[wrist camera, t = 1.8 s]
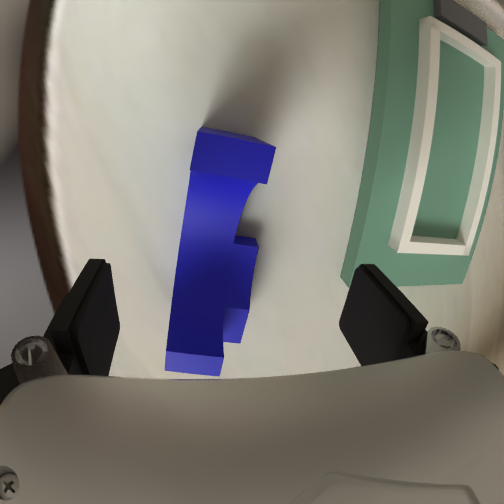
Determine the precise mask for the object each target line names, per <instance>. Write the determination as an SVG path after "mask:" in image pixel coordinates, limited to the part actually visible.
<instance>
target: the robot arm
mask: <svg viewBox="0 0 504 504" xmlns="http://www.w3.org/2000/svg"><path fill="white" fill-rule="evenodd" d="M427 324H428V321H427V320H426V319H425V317H424V316H423V315H422V314H421V313H420V312H419V311H418V310H417V309H416V307H415V306H414V305H413V304H412V303H411V302H410V301H409V300H408V299H407V298H406V297H405V295H404V294H403V293H402V292H401V291H400V290H399V289H398V288H397V287H396V286H395V285H394V284H393V283H392V282H391V281H390V280H389V278H388V277H387V276H386V275H385V274H384V273H383V272H382V271H381V270H380V269H379V268H378V267H377V266H376V265H375V264H360V265H359V267H357V268H356V269H355V271H354V275H353V278H352V282H351V285H350V288H349V292H348V295H347V298H346V302H345V305H344V308H343V311H342V314H341V317H340V321H339V327H340V330H341V331H342V333H343V335H344V336H345V338H346V340H347V342H348V343H349V345H350V347H351V349H352V350H353V352H354V354H355V356H356V357H357V359H358V361H359V363H360V364H361V366H360V367H354V368H347V369H340V370H332V371H324V372H316V373H307V374H297V375H286V376H273V377H258V378H237V379H152V378H133V377H113V376H108V375H109V371H110V367H111V362H112V358H113V354H114V350H115V346H116V342H117V339H118V335H119V331H120V322H119V317H118V311H117V305H116V299H115V293H114V286H113V279H112V272H111V265H110V263H106V261H105V260H104V259H89V260H88V262H87V264H86V265H85V267H84V268H83V270H82V272H81V273H80V275H79V277H78V278H77V280H76V282H75V283H74V285H73V287H72V289H71V290H70V292H69V293H67V294H66V295H65V297H64V299H63V300H62V302H61V304H60V306H59V308H58V309H57V311H56V313H55V315H54V317H53V319H52V321H51V322H50V324H49V326H48V328H47V330H46V332H45V334H44V336H43V337H42V336H29V337H26V338H24V339H22V340H20V341H19V342H18V343H17V344H16V345H15V346H14V348H13V349H12V352H11V360H12V364H10V365H8V366H6V367H4V368H2V369H0V504H504V376H503V375H502V373H501V372H500V371H499V369H498V367H497V366H496V365H495V364H493V363H491V362H490V361H489V360H488V359H487V358H485V357H484V356H482V355H479V354H476V353H472V352H466V351H461V350H460V342H459V339H458V338H457V336H456V335H455V334H454V333H452V332H451V331H449V330H447V329H445V328H442V327H433V328H431V329H429V330H428V332H427V331H426V330H425V328H426V326H427Z"/></svg>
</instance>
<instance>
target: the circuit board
mask: <svg viewBox="0 0 504 504" xmlns="http://www.w3.org/2000/svg"><path fill="white" fill-rule="evenodd" d="M503 106H504V40H503V39H502V38H501V37H500V36H498V35H497V34H496V33H495V32H493V31H492V30H491V29H490V28H488V27H487V24H486V23H485V22H483V21H482V20H481V19H479V18H478V17H476V16H475V15H474V14H472V13H471V12H469V11H468V10H466V9H465V8H464V7H462V6H461V5H459V4H457V3H456V2H454V1H453V0H380V4H379V34H378V51H377V64H376V76H375V86H374V96H373V105H372V113H371V121H370V128H369V135H368V142H367V149H366V155H365V161H364V167H363V173H362V179H361V185H360V190H359V195H358V200H357V205H356V210H355V215H354V220H353V225H352V229H351V234H350V239H349V243H348V247H347V252H346V256H345V260H344V264H343V268H342V272H341V276H340V277H341V278H342V279H343V281H344V282H345V283H346V285H347V286H348V287H349V288H350V285H351V282H352V278H353V275H354V271H355V269H356V268H357V267H359V265H360V264H375V265H376V266H377V267H378V268H379V269H380V270H381V271H382V272H383V273H384V274H385V275H386V276H387V277H388V278H389V280H390V281H391V282H392V283H393V284H394V285H395V286H420V285H443V284H462V283H463V280H464V278H465V275H466V272H467V270H468V267H469V264H470V261H471V259H472V256H473V253H474V250H475V247H476V244H477V240H478V237H479V234H480V231H481V227H482V224H483V220H484V216H485V213H486V209H487V205H488V201H489V197H490V192H491V188H492V183H493V179H494V174H495V168H496V163H497V157H498V151H499V144H500V136H501V128H502V118H503Z"/></svg>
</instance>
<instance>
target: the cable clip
mask: <svg viewBox="0 0 504 504" xmlns="http://www.w3.org/2000/svg"><path fill="white" fill-rule="evenodd" d="M275 150H276V147H275V146H272V145H270V144H268V143H266V142H264V141H261V140H259V139H257V138H254V137H250V136H246V135H241V134H236V133H231V132H226V131H221V130H215V129H210V128H204V127H201V128H200V129H199V130H198V131H197V136H196V141H195V146H194V151H193V156H192V161H191V166H190V170H191V172H190V180H189V187H188V193H187V200H186V206H185V213H184V219H183V226H182V232H181V239H180V246H179V253H178V260H177V267H176V274H175V282H174V289H173V297H172V305H171V313H170V321H169V330H168V339H167V347H166V359H165V371H173V372H181V373H190V374H200V375H210V376H220V372H221V368H222V364H223V360H224V351H223V342H231V343H240V342H241V339H242V335H243V331H244V328H245V324H246V321H247V317H248V313H249V308H250V296H251V287H252V279H253V273H254V267H255V262H256V257H257V253H258V249H259V247H258V244H257V241H256V239H255V238H249V237H242V236H236V231H237V227H238V224H239V220H240V217H241V214H242V211H243V208H244V206H245V203H246V201H247V199H248V197H249V195H250V193H251V191H252V189H253V188H254V187H255V186H256V185H257V184H258V183H263V184H267V182H268V178H269V174H270V170H271V166H272V162H273V158H274V154H275Z"/></svg>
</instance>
